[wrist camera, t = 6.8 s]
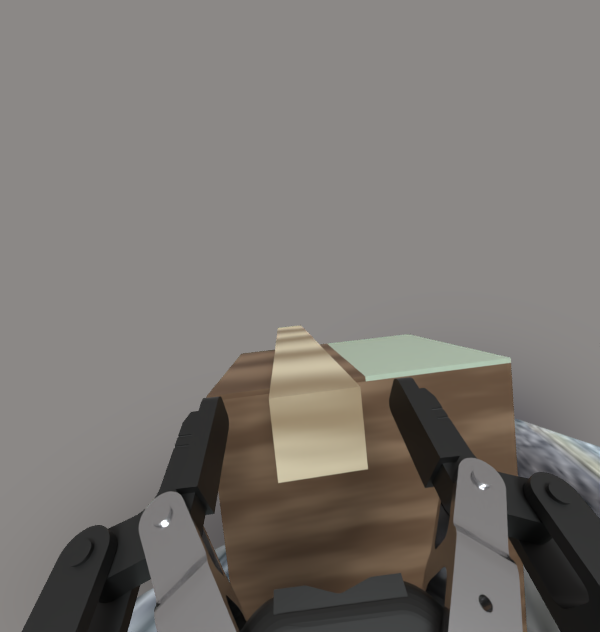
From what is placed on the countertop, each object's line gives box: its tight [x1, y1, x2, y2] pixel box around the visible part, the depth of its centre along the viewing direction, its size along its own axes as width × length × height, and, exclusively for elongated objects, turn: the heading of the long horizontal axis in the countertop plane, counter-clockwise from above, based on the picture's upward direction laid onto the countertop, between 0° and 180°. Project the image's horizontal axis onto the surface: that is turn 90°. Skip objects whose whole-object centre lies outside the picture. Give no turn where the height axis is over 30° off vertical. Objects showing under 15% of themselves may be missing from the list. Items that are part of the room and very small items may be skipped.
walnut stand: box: [207, 334, 527, 632], centre depth 28 cm, size 16×24×32 cm, turn 95°
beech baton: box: [269, 326, 368, 483], centre depth 22 cm, size 26×3×3 cm, turn 5°
